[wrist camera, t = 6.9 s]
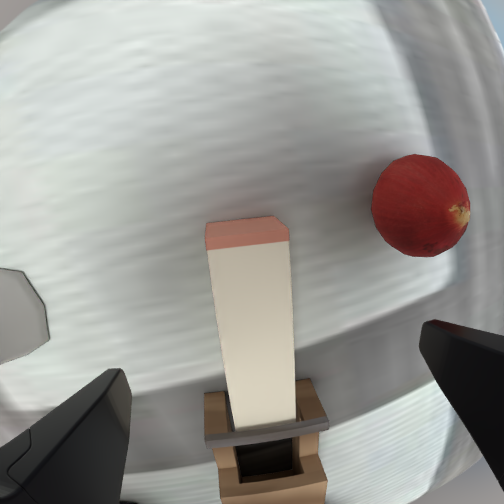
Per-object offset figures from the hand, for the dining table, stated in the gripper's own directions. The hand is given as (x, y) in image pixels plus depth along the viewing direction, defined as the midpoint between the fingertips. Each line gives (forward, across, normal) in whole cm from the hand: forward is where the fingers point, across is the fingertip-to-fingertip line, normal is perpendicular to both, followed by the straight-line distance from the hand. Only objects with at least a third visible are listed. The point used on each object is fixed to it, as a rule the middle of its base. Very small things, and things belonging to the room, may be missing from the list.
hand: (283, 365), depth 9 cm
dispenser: (+12, 0, +16) cm, 20 cm away
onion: (+12, -10, -2) cm, 16 cm away
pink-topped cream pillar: (+12, 0, +5) cm, 13 cm away
